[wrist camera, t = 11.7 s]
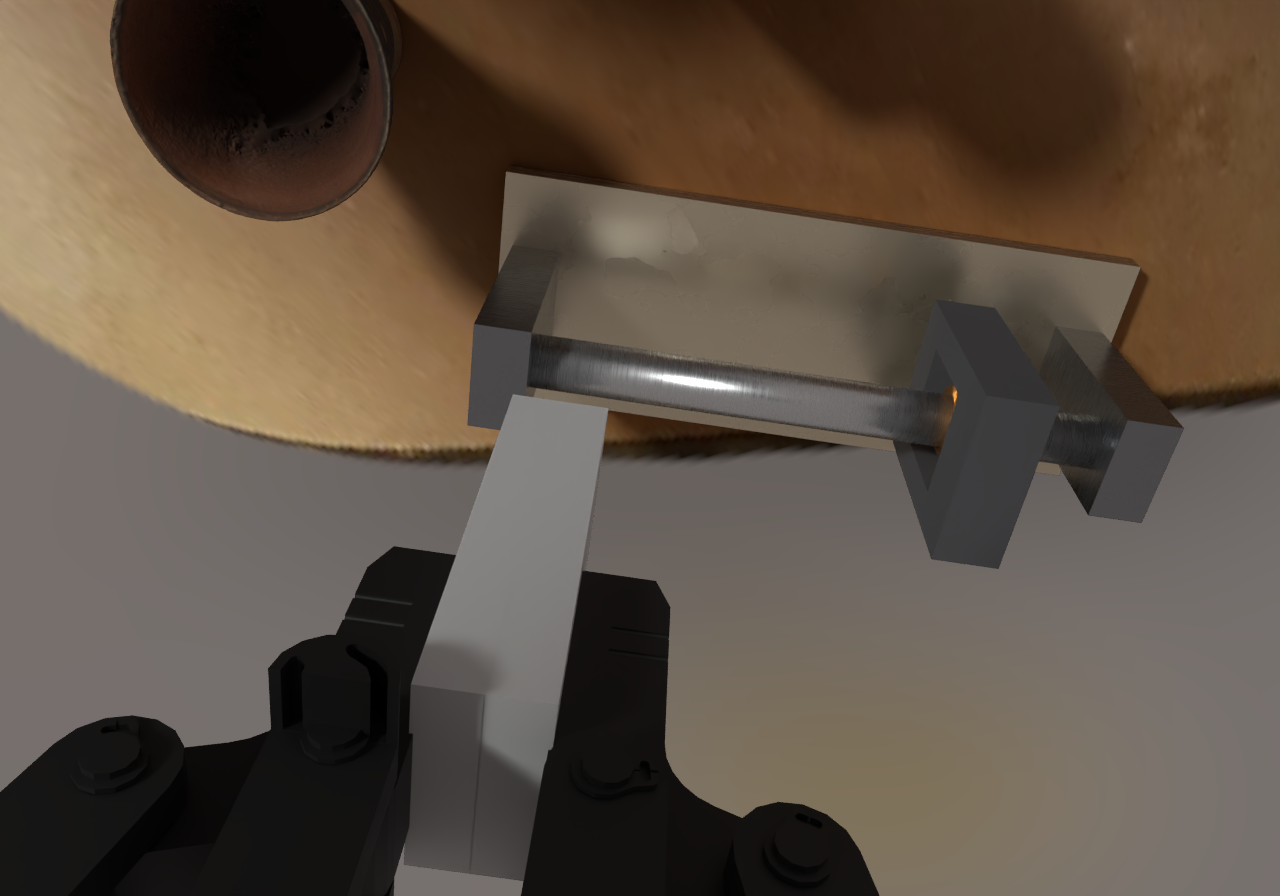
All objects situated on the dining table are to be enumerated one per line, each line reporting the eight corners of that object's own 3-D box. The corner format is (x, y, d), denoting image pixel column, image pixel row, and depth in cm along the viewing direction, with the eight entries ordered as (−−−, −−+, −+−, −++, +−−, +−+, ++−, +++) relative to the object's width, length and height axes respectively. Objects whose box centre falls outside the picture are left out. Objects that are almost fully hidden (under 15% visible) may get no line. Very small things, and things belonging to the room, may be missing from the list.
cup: (337, 226, 44) (229, 277, 35) (199, 32, 41) (42, 30, 32) (508, 109, 41) (441, 129, 32) (372, -105, 39) (257, -150, 30)
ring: (892, 442, 44) (931, 559, 37) (935, 298, 41) (986, 395, 34) (948, 450, 44) (998, 568, 37) (995, 307, 41) (1059, 406, 34)
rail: (493, 383, 48) (450, 492, 39) (509, 165, 43) (464, 238, 35) (1052, 464, 48) (1125, 589, 40) (1132, 258, 43) (1233, 352, 35)
